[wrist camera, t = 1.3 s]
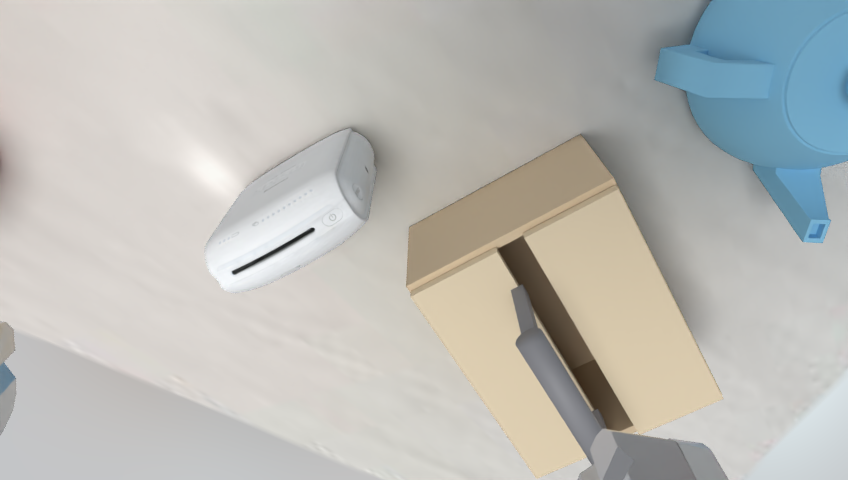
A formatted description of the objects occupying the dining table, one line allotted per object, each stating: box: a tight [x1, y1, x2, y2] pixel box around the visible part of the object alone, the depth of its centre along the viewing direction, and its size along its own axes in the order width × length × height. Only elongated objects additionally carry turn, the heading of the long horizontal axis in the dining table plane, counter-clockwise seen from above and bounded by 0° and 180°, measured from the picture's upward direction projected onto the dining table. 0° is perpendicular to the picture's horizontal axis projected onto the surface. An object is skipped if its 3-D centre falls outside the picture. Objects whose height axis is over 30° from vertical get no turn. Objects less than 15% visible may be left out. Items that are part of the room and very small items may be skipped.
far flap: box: [411, 247, 607, 479], centre depth 40 cm, size 7×17×7 cm, turn 31°
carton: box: [406, 134, 723, 435], centre depth 47 cm, size 14×18×10 cm
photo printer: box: [205, 128, 377, 293], centre depth 42 cm, size 10×4×12 cm, turn 120°
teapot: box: [655, 0, 848, 243], centre depth 39 cm, size 15×15×11 cm
